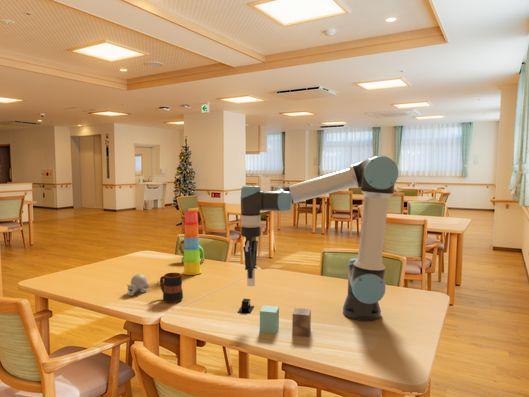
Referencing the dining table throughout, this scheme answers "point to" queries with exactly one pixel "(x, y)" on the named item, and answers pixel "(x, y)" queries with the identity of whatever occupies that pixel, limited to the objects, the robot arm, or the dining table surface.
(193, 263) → the stacking cups
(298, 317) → the walnut block
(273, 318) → the teal block
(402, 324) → the dining table surface
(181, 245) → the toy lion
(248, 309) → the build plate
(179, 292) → the mug
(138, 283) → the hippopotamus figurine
